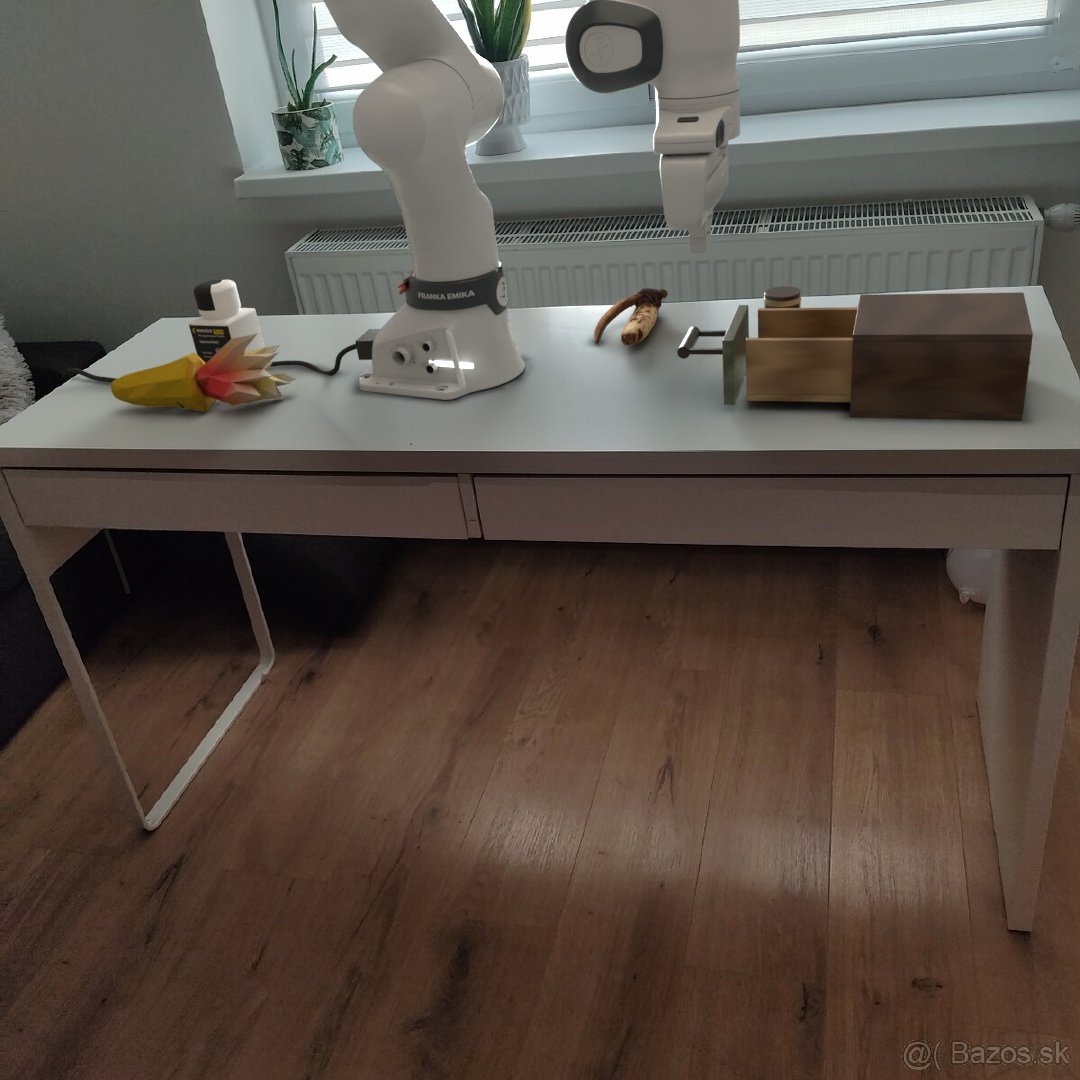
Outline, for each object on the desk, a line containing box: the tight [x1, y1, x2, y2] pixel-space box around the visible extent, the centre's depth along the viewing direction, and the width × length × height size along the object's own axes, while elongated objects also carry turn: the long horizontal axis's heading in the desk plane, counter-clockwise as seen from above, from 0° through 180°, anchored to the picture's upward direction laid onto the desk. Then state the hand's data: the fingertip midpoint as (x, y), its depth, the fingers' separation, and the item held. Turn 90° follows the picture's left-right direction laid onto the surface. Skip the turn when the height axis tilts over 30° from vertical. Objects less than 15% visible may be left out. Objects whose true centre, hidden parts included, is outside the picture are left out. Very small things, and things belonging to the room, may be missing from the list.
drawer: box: [676, 304, 858, 406], centre depth 124 cm, size 22×12×8 cm, turn 73°
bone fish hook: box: [593, 287, 669, 346], centre depth 150 cm, size 9×5×18 cm
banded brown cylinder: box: [763, 285, 802, 308], centre depth 136 cm, size 5×5×8 cm
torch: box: [110, 334, 298, 413], centre depth 142 cm, size 8×8×25 cm
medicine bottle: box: [188, 278, 266, 363], centre depth 156 cm, size 7×7×12 cm
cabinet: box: [849, 291, 1034, 421], centre depth 119 cm, size 18×14×10 cm
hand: (700, 249), depth 121 cm, fingers closed
